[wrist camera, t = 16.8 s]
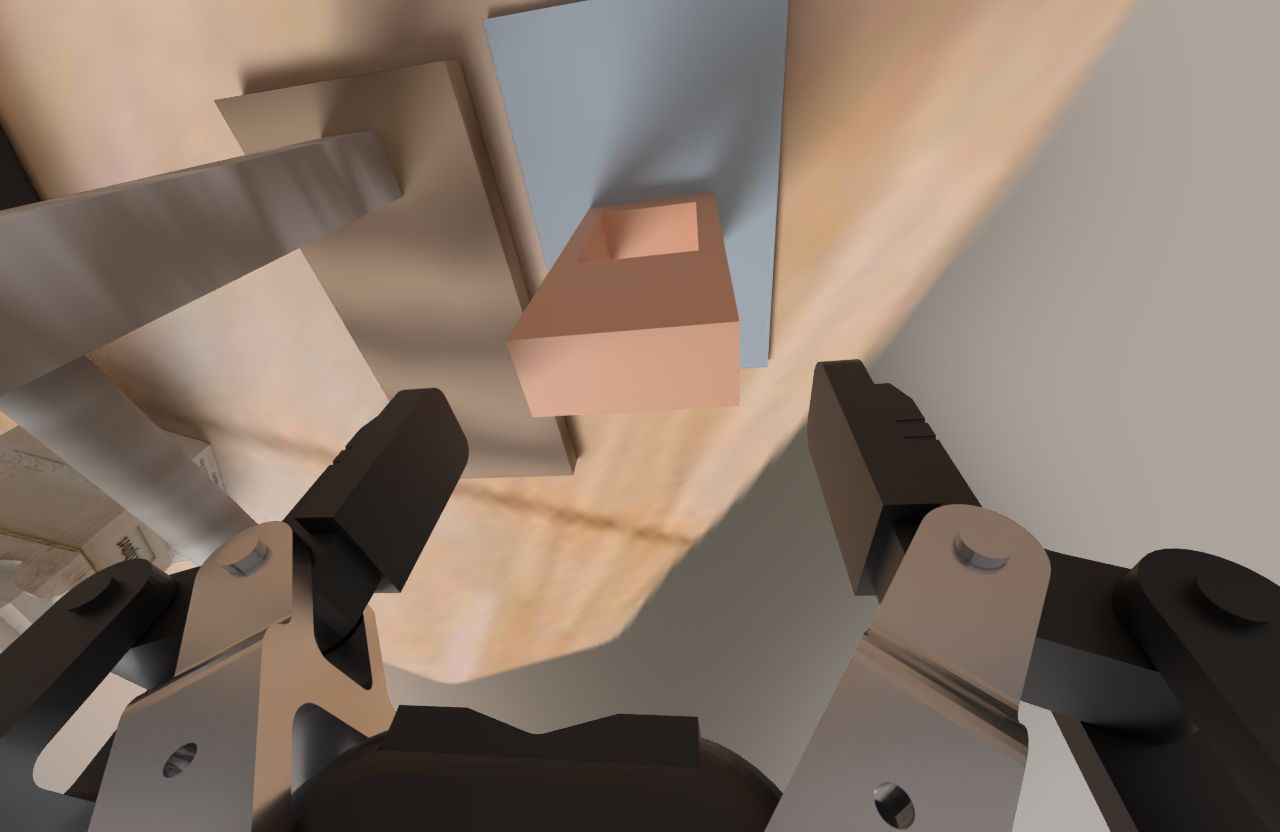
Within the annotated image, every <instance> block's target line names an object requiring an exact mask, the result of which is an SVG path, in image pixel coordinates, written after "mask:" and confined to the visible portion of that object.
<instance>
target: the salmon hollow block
mask: <svg viewBox="0 0 1280 832" xmlns="http://www.w3.org/2000/svg"><path fill="white" fill-rule="evenodd" d="M505 342H506V344H507V347H508V350H509V353H510V355H511V358H512V361H513V364H514V367H515V369H516V372H517V375H518V378H519V381H520V383H521V386H522V389H523V392H524V395H525V397H526V400H527V403H528V406H529V408H530V411H531V414H532V417H549V416H567V415H584V414H602V413H620V412H638V411H656V410H673V409H691V408H709V407H727V406H739V371H740V321H739V316H738V311H737V306H736V301H735V296H734V291H733V286H732V281H731V276H730V271H729V266H728V261H727V256H726V251H725V246H724V241H723V236H722V231H721V226H720V221H719V216H718V211H717V206H716V201H715V196H714V193H708V194H700V195H692V196H684V197H676V198H668V199H660V200H652V201H644V202H636V203H628V204H620V205H612V206H604V207H596V208H589V210H588V211H587V213H586V214H585V216H584V217H583V219H582V221H581V222H580V224H579V225H578V227H577V229H576V230H575V232H574V233H573V235H572V236H571V238H570V240H569V241H568V243H567V244H566V246H565V247H564V249H563V251H562V252H561V254H560V255H559V257H558V258H557V260H556V262H555V263H554V265H553V266H552V268H551V270H550V271H549V273H548V274H547V276H546V277H545V279H544V281H543V282H542V284H541V285H540V287H539V288H538V290H537V292H536V293H535V295H534V296H533V298H532V299H531V301H530V303H529V304H528V306H527V307H526V309H525V310H524V312H523V314H522V315H521V317H520V318H519V320H518V322H517V323H516V325H515V326H514V328H513V329H512V331H511V333H510V334H509V336H508V337H507V339H506V340H505Z"/></svg>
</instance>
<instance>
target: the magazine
mask: <svg viewBox="0 0 1280 832" xmlns="http://www.w3.org/2000/svg"><path fill="white" fill-rule="evenodd" d="M37 202H40V201H39V199H38V197H37V195H36V193H35V191H34V189H33V188H32V186H31V184H30V182H29V180H28V178H27V176H26V174H25V173H24V171H23V169H22V167H21V165H20V163H19V161H18V160H17V158H16V156H15V154H14V152H13V150H12V148H11V147H10V145H9V143H8V141H7V139H6V137H5V135H4V134H3V132H2V130H1V128H0V211H2V210H6V209H10V208H15V207H19V206H24V205H28V204H32V203H37Z"/></svg>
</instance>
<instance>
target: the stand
mask: <svg viewBox="0 0 1280 832" xmlns="http://www.w3.org/2000/svg"><path fill="white" fill-rule="evenodd" d="M214 102H215V103H216V105H217V107H218V109H219V110H220V112H221V114H222V115H223V117H224V119H225V121H226V122H227V124H228V126H229V127H230V129H231V131H232V133H233V134H234V136H235V138H236V139H237V141H238V143H239V144H240V146H241V148H242V150H243V151H244V153H245V155H244V156H240V157H235V158H231V159H227V160H222V161H218V162H213V163H209V164H204V165H200V166H196V167H191V168H187V169H182V170H178V171H174V172H169V173H165V174H160V175H156V176H152V177H147V178H143V179H138V180H134V181H129V182H125V183H121V184H116V185H112V186H107V187H103V188H99V189H94V190H90V191H85V192H81V193H77V194H72V195H68V196H63V197H59V198H54V199H50V200H46V201H41V202H37V203H32V204H28V205H24V206H19V207H15V208H10V209H6V210H2V211H0V410H1V411H2V412H3V413H4V414H6V415H7V416H8V417H9V418H11V419H12V420H13V421H14V422H16V423H17V424H18V425H20V426H21V427H22V428H23V429H25V430H26V431H27V432H28V433H30V434H31V435H32V436H33V437H35V438H36V439H37V440H39V441H40V442H41V443H42V444H44V445H45V446H46V447H47V448H49V449H50V450H51V451H53V452H54V453H55V454H56V455H58V456H59V457H60V458H61V459H63V460H64V461H65V462H66V463H68V464H69V465H70V466H72V467H73V468H74V469H75V470H77V471H78V472H79V473H80V474H82V475H83V476H84V477H85V478H87V479H88V480H89V481H91V482H92V483H93V484H94V485H96V486H97V487H98V488H99V489H101V490H102V491H103V492H105V493H106V494H107V495H108V496H110V497H111V498H112V499H113V500H115V501H116V502H117V503H118V504H120V505H121V506H122V507H124V508H125V509H126V510H127V511H129V512H130V513H131V514H132V515H134V516H135V517H136V518H138V519H139V520H140V521H141V522H143V523H144V524H145V525H146V526H148V527H149V528H150V529H151V530H153V531H154V532H155V533H157V534H158V535H159V536H160V537H162V538H163V539H164V540H165V541H167V542H168V543H169V544H170V545H172V546H173V547H174V548H176V549H177V550H178V551H179V552H181V553H182V554H183V555H184V556H186V557H187V558H188V559H190V560H191V561H192V562H193V563H195V564H196V565H197V566H198V567H199V566H202V564H203V563H204V562H205V560H206V559H207V558H208V557H209V556H210V555H211V554H212V553H213V552H214V551H215V550H216V549H217V548H218V547H220V546H221V545H222V544H223V543H225V542H226V541H227V540H229V539H230V538H232V537H233V536H235V535H237V534H238V533H240V532H242V531H244V530H246V529H248V528H250V527H253V526H255V525H258V524H257V523H256V522H255V521H254V520H253V519H252V518H251V517H250V516H249V515H248V514H247V513H246V512H245V511H244V510H243V509H242V508H241V507H240V506H239V505H238V504H237V503H236V502H235V501H234V500H233V499H232V498H230V497H229V496H228V495H227V494H226V493H225V492H224V491H223V490H222V489H221V488H220V487H219V486H218V485H217V484H216V483H215V482H214V481H213V480H212V479H211V478H210V477H209V476H208V475H207V474H206V473H205V472H204V471H203V470H202V469H201V468H200V467H199V466H198V465H197V464H196V463H195V462H194V461H193V460H192V459H191V458H190V457H188V456H187V455H186V454H185V453H184V452H183V451H182V450H181V449H180V448H179V447H178V446H177V445H176V444H175V443H174V442H173V441H172V440H171V439H170V438H169V437H168V436H167V435H166V434H165V433H164V432H163V431H162V430H161V429H160V428H159V427H158V426H157V425H156V424H155V423H154V422H153V421H152V420H151V419H150V418H149V417H148V416H147V415H145V414H144V413H143V412H142V411H141V410H140V409H139V408H138V407H137V406H136V405H135V404H134V403H133V402H132V401H131V400H130V399H129V398H128V397H127V396H126V395H125V394H124V393H123V392H122V391H121V390H120V389H119V388H118V387H117V386H116V385H115V384H114V383H113V382H112V381H111V380H110V379H109V378H108V377H107V376H106V375H105V374H103V373H102V372H101V371H100V370H99V369H98V368H97V367H96V366H95V365H94V364H93V363H92V362H91V361H90V360H89V359H88V358H87V357H86V356H85V354H87V353H89V352H91V351H93V350H95V349H97V348H99V347H101V346H103V345H105V344H107V343H109V342H111V341H113V340H115V339H117V338H119V337H121V336H123V335H125V334H127V333H129V332H131V331H133V330H135V329H137V328H139V327H141V326H143V325H145V324H147V323H149V322H151V321H153V320H155V319H157V318H159V317H161V316H163V315H165V314H167V313H170V312H172V311H174V310H176V309H178V308H180V307H182V306H184V305H186V304H188V303H190V302H192V301H194V300H196V299H198V298H200V297H202V296H204V295H206V294H208V293H210V292H212V291H214V290H216V289H218V288H220V287H222V286H224V285H226V284H228V283H230V282H232V281H234V280H236V279H238V278H240V277H242V276H244V275H246V274H248V273H250V272H252V271H254V270H256V269H258V268H260V267H262V266H264V265H266V264H268V263H270V262H272V261H274V260H276V259H278V258H280V257H282V256H284V255H286V254H288V253H290V252H292V251H294V250H296V249H298V248H300V249H301V251H302V252H303V254H304V256H305V257H306V259H307V261H308V263H309V264H310V266H311V268H312V269H313V271H314V273H315V275H316V276H317V278H318V280H319V281H320V283H321V285H322V287H323V288H324V290H325V292H326V293H327V295H328V297H329V299H330V300H331V302H332V304H333V305H334V307H335V309H336V310H337V312H338V314H339V316H340V317H341V319H342V321H343V322H344V324H345V326H346V328H347V329H348V331H349V333H350V334H351V336H352V338H353V340H354V341H355V343H356V345H357V346H358V348H359V350H360V352H361V353H362V355H363V357H364V358H365V360H366V362H367V364H368V365H369V367H370V369H371V370H372V372H373V374H374V376H375V377H376V379H377V381H378V382H379V384H380V386H381V388H382V389H383V391H384V393H385V394H386V396H387V398H388V399H389V401H391V400H392V399H393V397H394V396H395V395H396V394H397V393H398V392H399V391H401V390H406V389H421V388H438V389H440V390H441V391H442V392H443V393H444V395H445V397H446V399H447V401H448V403H449V405H450V407H451V409H452V411H453V413H454V415H455V417H456V419H457V421H458V422H459V424H460V426H461V428H462V430H463V432H464V434H465V436H466V439H467V441H468V446H469V458H468V462H467V465H466V467H465V469H464V471H463V473H462V475H461V477H460V479H466V478H499V477H532V476H565V475H573V473H574V470H575V466H576V462H577V457H576V454H575V450H574V447H573V444H572V440H571V437H570V433H569V430H568V427H567V423H566V420H565V416H549V417H532V414H531V411H530V408H529V406H528V403H527V400H526V397H525V395H524V392H523V389H522V386H521V383H520V381H519V378H518V375H517V372H516V369H515V367H514V364H513V361H512V358H511V355H510V353H509V350H508V347H507V344H506V342H505V340H506V339H507V337H508V336H509V334H510V333H511V331H512V329H513V328H514V326H515V325H516V323H517V322H518V320H519V318H520V317H521V315H522V314H523V312H524V310H525V309H526V307H527V306H528V304H529V303H530V301H531V300H530V297H529V294H528V290H527V287H526V283H525V280H524V276H523V273H522V270H521V266H520V263H519V259H518V256H517V253H516V249H515V246H514V242H513V239H512V236H511V232H510V229H509V225H508V222H507V218H506V215H505V212H504V208H503V205H502V201H501V198H500V195H499V191H498V188H497V184H496V181H495V178H494V174H493V171H492V167H491V164H490V160H489V157H488V154H487V150H486V147H485V143H484V140H483V137H482V133H481V130H480V126H479V123H478V120H477V116H476V113H475V109H474V106H473V102H472V99H471V96H470V92H469V89H468V85H467V82H466V79H465V75H464V72H463V68H462V65H461V62H460V60H448V61H439V62H433V63H427V64H421V65H416V66H410V67H404V68H398V69H392V70H387V71H381V72H375V73H369V74H363V75H358V76H352V77H346V78H340V79H334V80H329V81H323V82H317V83H311V84H305V85H300V86H294V87H288V88H282V89H276V90H270V91H265V92H259V93H253V94H247V95H241V96H236V97H230V98H224V99H218V100H214Z"/></svg>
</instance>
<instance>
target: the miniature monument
mask: <svg viewBox="0 0 1280 832" xmlns="http://www.w3.org/2000/svg"><path fill="white" fill-rule="evenodd" d="M161 430H162V429H161ZM162 431H163V432H164V433H165V434H166V435H167V436H168V437H169V438H170V439H171V440H172V441H173V442H174V443H175V444H176V445H177V446H178V447H179V448H180V449H181V450H182V451H183V452H184V453H185V454H186V455H187V456H188V457H190V458H191V459H192V460H193V461H194V462H195V463H196V464H197V465H198V466H199V467H200V468H201V469H202V470H203V471H204V472H205V473H206V474H207V475H208V476H209V477H210V478H211V479H212V480H213V481H214V482H215V483H216V484H217V485H218V486H219V487H220V488H221V489H222V490H223V491H224V492H225V493H226V491H225V487H224V484H223V481H222V478H221V474H220V471H219V468H218V465H217V462H216V458H215V455H214V452H213V449H212V446H211V444H209V443H206V442H203V441H199V440H196V439H193V438H189V437H186V436H183V435H179V434H176V433H172V432H169V431H166V430H162ZM136 558H141V559H146V560H148V561H149V562H151V563H152V564H153V565H155V566H156V567H158V568H159V569H161V570H162V571H163V572H164V571H165V570H166V569H167V568H168V567H169V566H170V565H171V564H172V563H176V562H182V561H189V560H190V559H188V558H187V557H186V556H184V555H183V554H182V553H181V552H179V551H178V550H177V549H176V548H174V547H173V546H172V545H170V544H169V543H168V542H167V541H165V540H164V539H163V538H162V537H160V536H159V535H158V534H157V533H155V532H154V531H153V530H151V529H150V528H149V527H148V526H146V525H145V524H144V523H143V522H141V521H140V520H139V519H138V518H136V517H135V516H134V515H132V514H131V513H130V512H129V511H127V510H126V509H125V508H124V507H122V506H121V505H120V504H118V503H117V502H116V501H115V500H113V499H112V498H111V497H110V496H108V495H107V494H106V493H105V492H103V491H102V490H101V489H99V488H98V487H97V486H96V485H94V484H93V483H92V482H91V481H89V480H88V479H87V478H85V477H84V476H83V475H82V474H80V473H79V472H78V471H77V470H75V469H74V468H73V467H72V466H70V465H69V464H68V463H66V462H65V461H64V460H63V459H61V458H60V457H59V456H58V455H56V454H55V453H54V452H53V451H51V450H50V449H49V448H47V447H46V446H45V445H44V444H42V443H41V442H40V441H39V440H37V439H36V438H35V437H33V436H32V435H31V434H30V433H28V432H27V431H26V430H25V429H23V428H22V427H21V426H20V425H18V426H17V427H15V428H13V429H11V430H9V431H8V432H6V433H4V434H2V435H0V654H1V653H2V652H3V651H4V650H5V649H6V648H7V647H8V646H9V645H10V644H11V643H13V642H14V641H15V640H16V639H17V638H18V637H19V636H20V635H21V634H22V633H23V632H24V631H26V630H27V629H28V628H29V627H30V626H31V625H32V624H33V623H34V622H35V621H36V620H37V619H38V618H40V617H41V616H42V615H43V614H44V613H45V612H46V611H47V610H48V609H49V608H50V607H51V606H52V605H54V604H55V603H56V602H57V601H58V600H59V599H60V598H61V597H62V596H64V595H65V594H66V593H67V592H68V591H70V590H71V589H72V588H73V587H75V586H76V585H78V584H79V583H80V582H82V581H83V580H85V579H87V578H88V577H90V576H92V575H93V574H95V573H97V572H99V571H101V570H102V569H104V568H107V567H109V566H111V565H113V564H116V563H119V562H122V561H125V560H129V559H136Z"/></svg>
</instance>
